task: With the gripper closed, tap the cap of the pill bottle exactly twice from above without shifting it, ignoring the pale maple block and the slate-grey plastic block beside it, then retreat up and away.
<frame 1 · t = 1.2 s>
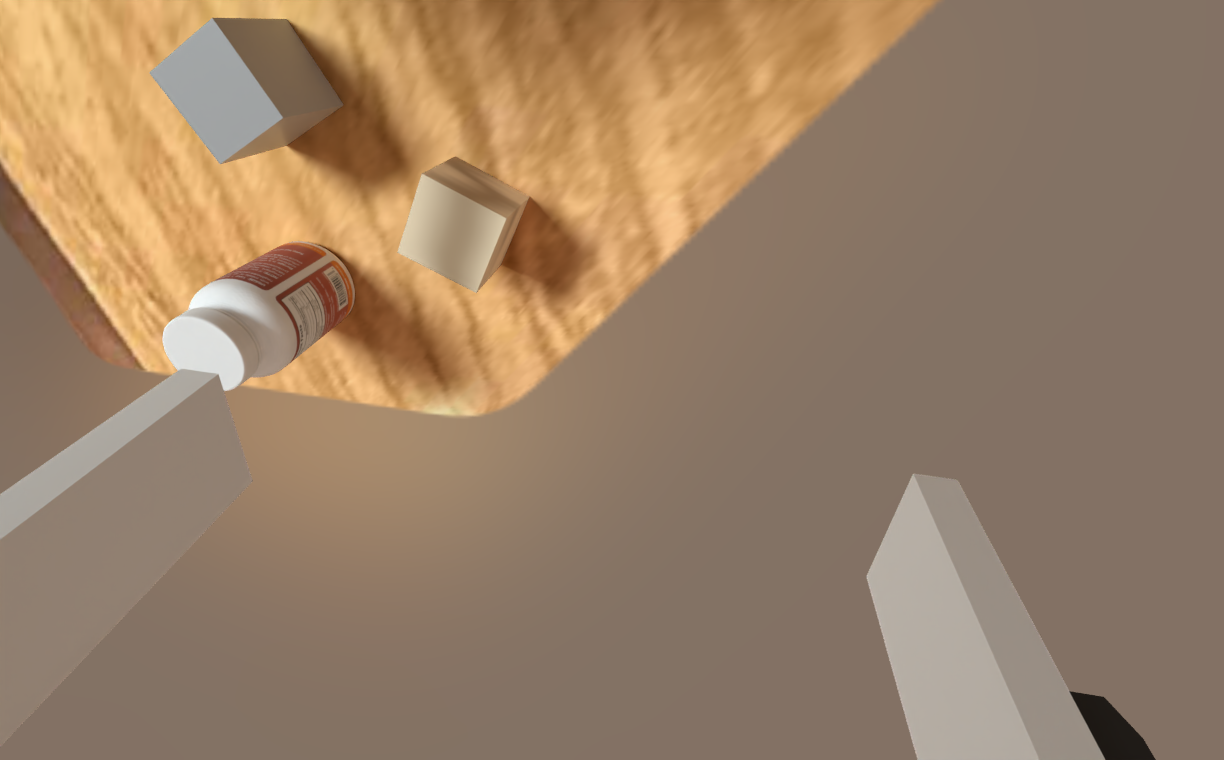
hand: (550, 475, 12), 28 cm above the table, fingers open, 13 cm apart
pill bottle: (318, 280, 43), on the table
maple block: (479, 212, 38), on the table
grey block: (287, 85, 36), on the table
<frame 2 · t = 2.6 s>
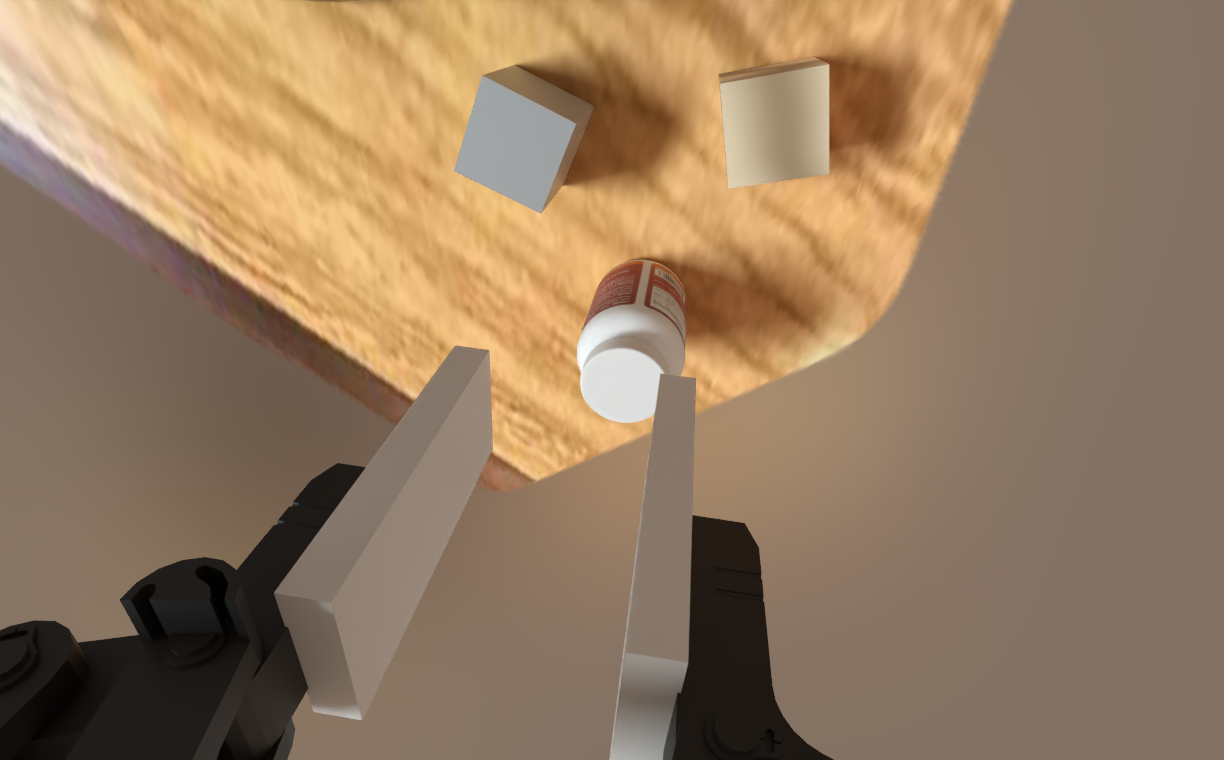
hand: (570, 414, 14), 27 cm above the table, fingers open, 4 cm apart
pill bottle: (642, 298, 41), on the table
maple block: (767, 114, 34), on the table
grey block: (540, 127, 36), on the table
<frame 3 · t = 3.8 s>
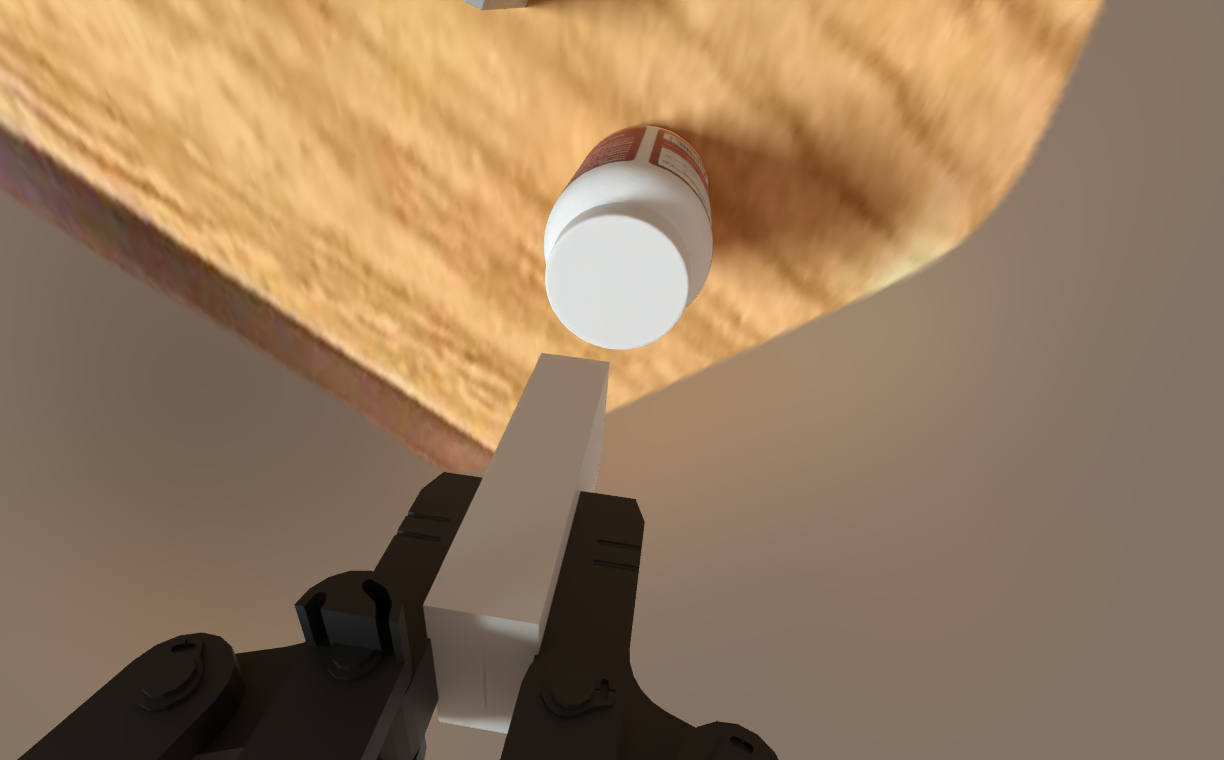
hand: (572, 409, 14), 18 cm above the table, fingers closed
pill bottle: (645, 191, 29), on the table
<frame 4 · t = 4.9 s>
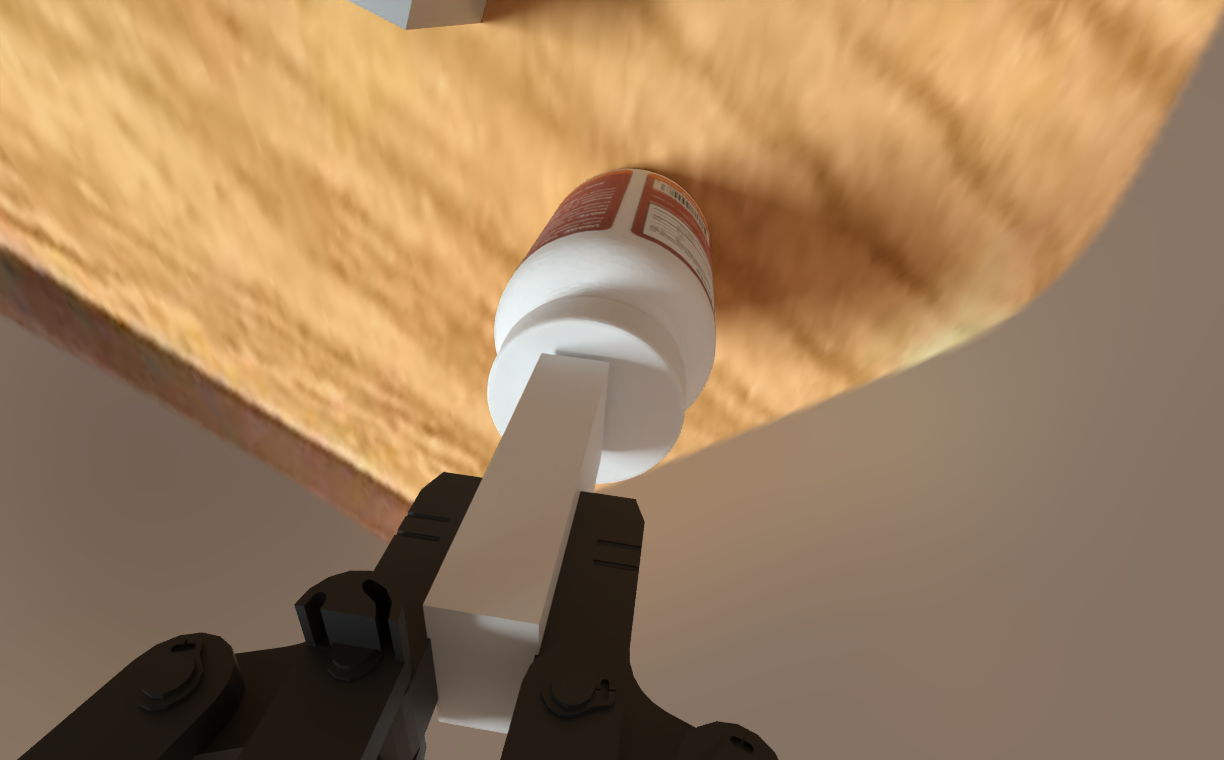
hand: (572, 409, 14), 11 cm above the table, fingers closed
pill bottle: (632, 245, 23), on the table, touching gripper
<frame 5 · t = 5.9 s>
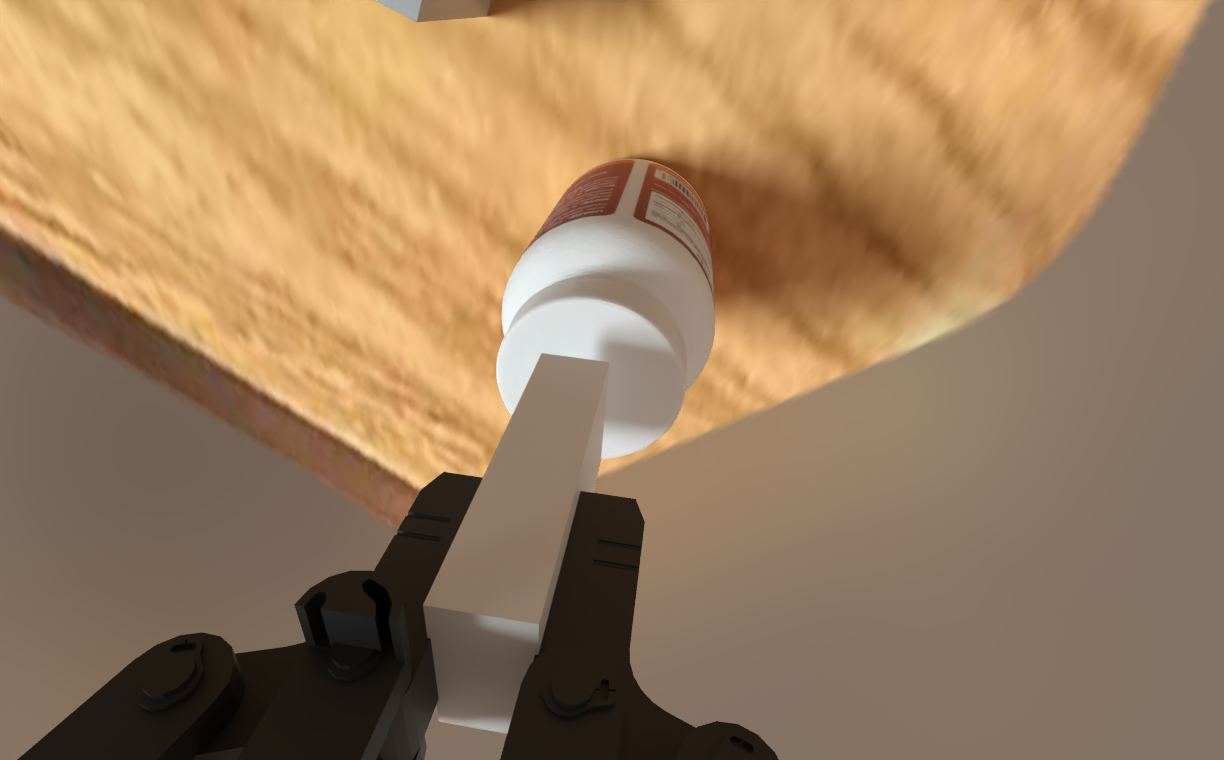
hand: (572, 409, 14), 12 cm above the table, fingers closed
pill bottle: (633, 234, 24), on the table
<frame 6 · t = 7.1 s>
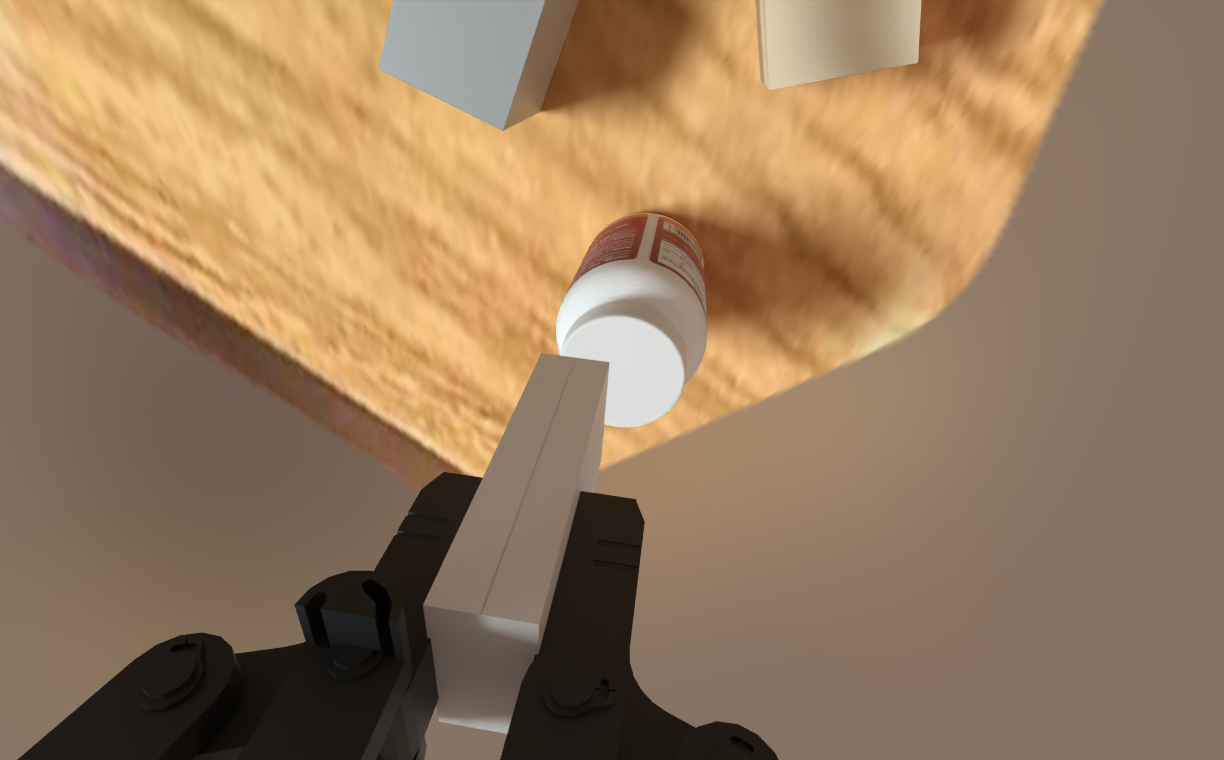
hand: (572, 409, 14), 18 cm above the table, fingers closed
pill bottle: (646, 268, 31), on the table
maple block: (819, 0, 25), on the table
grey block: (507, 29, 27), on the table
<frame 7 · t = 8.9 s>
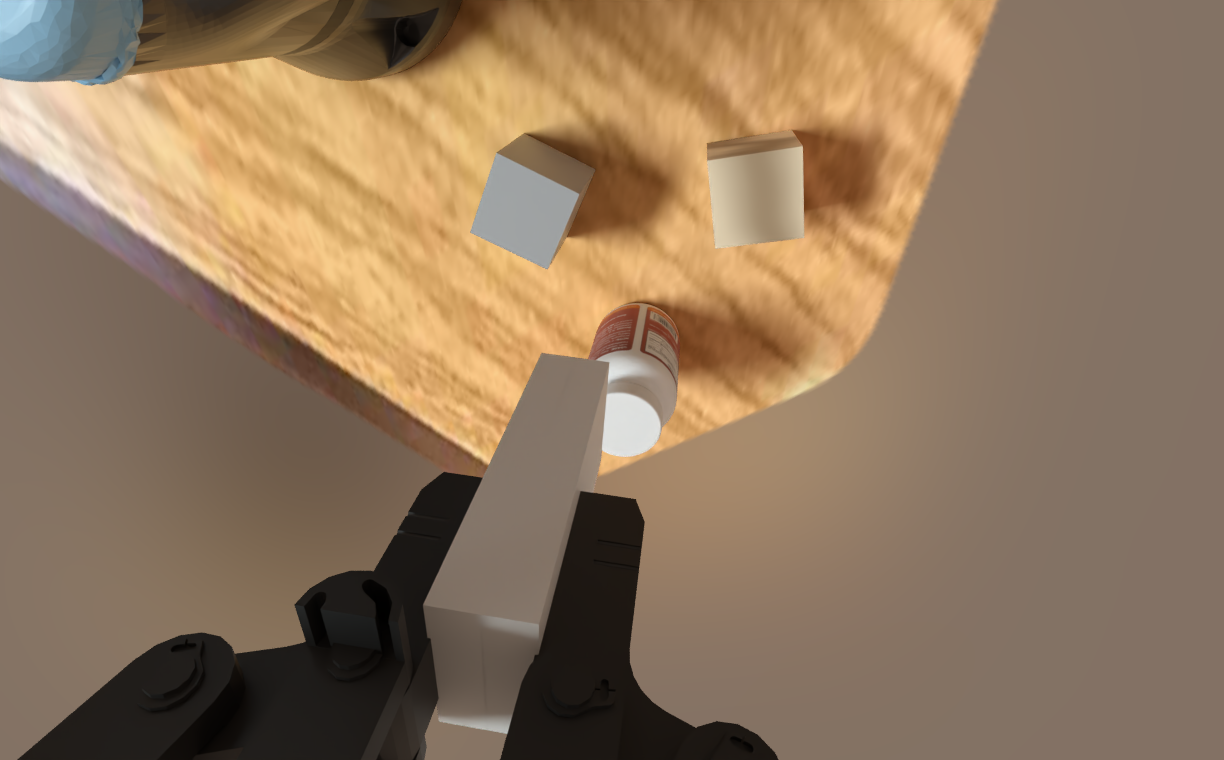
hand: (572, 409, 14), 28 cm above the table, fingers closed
pill bottle: (639, 336, 45), on the table
maple block: (751, 178, 38), on the table
grey block: (546, 187, 40), on the table
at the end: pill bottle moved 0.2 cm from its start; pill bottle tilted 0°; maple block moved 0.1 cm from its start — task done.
